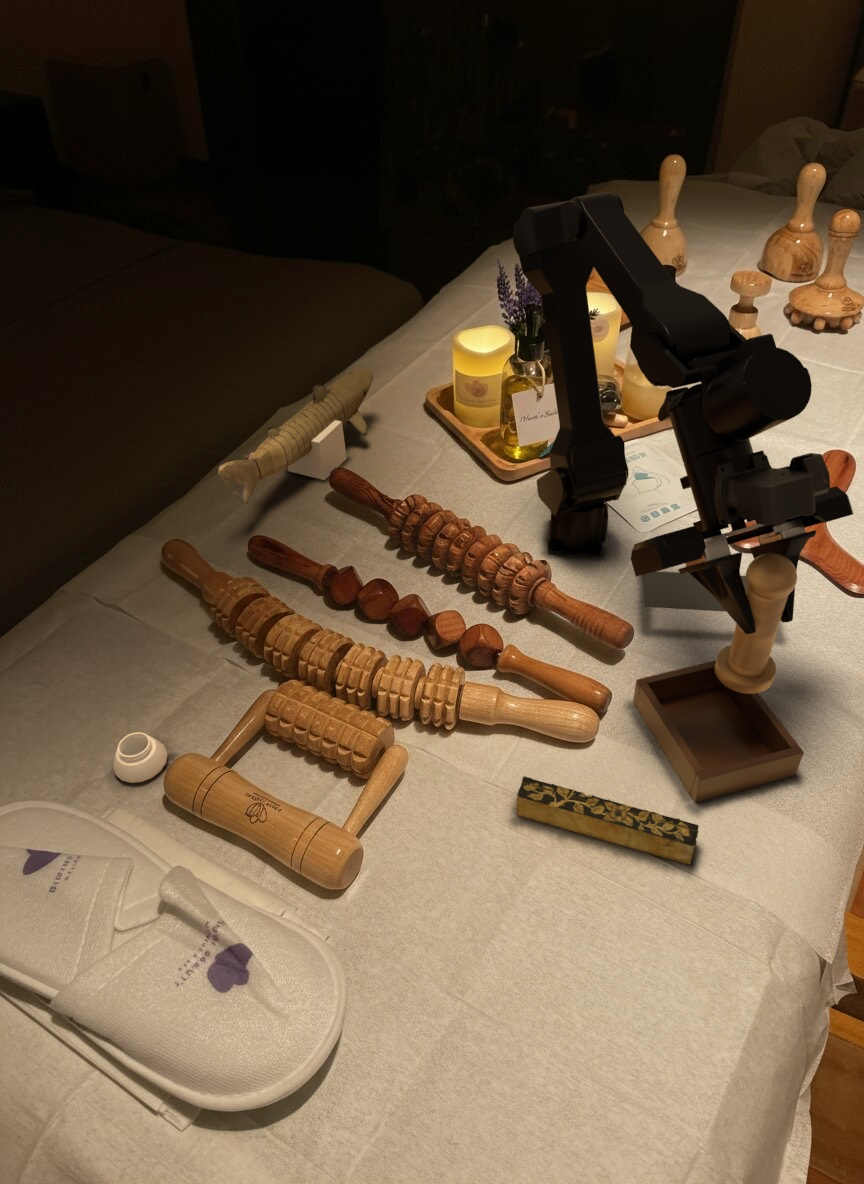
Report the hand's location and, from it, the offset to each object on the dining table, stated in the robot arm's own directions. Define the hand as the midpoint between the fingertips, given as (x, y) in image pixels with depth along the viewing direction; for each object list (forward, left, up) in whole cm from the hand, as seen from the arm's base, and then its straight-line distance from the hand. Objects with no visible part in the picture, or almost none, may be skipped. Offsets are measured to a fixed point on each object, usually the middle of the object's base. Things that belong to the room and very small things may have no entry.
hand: (769, 627), depth 75 cm
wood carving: (-53, +42, -14) cm, 69 cm away
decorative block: (-13, -12, -14) cm, 23 cm away
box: (-3, -1, -14) cm, 15 cm away
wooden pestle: (-1, +1, -7) cm, 7 cm away
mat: (-1, +19, -14) cm, 24 cm away
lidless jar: (-57, -9, -14) cm, 60 cm away
